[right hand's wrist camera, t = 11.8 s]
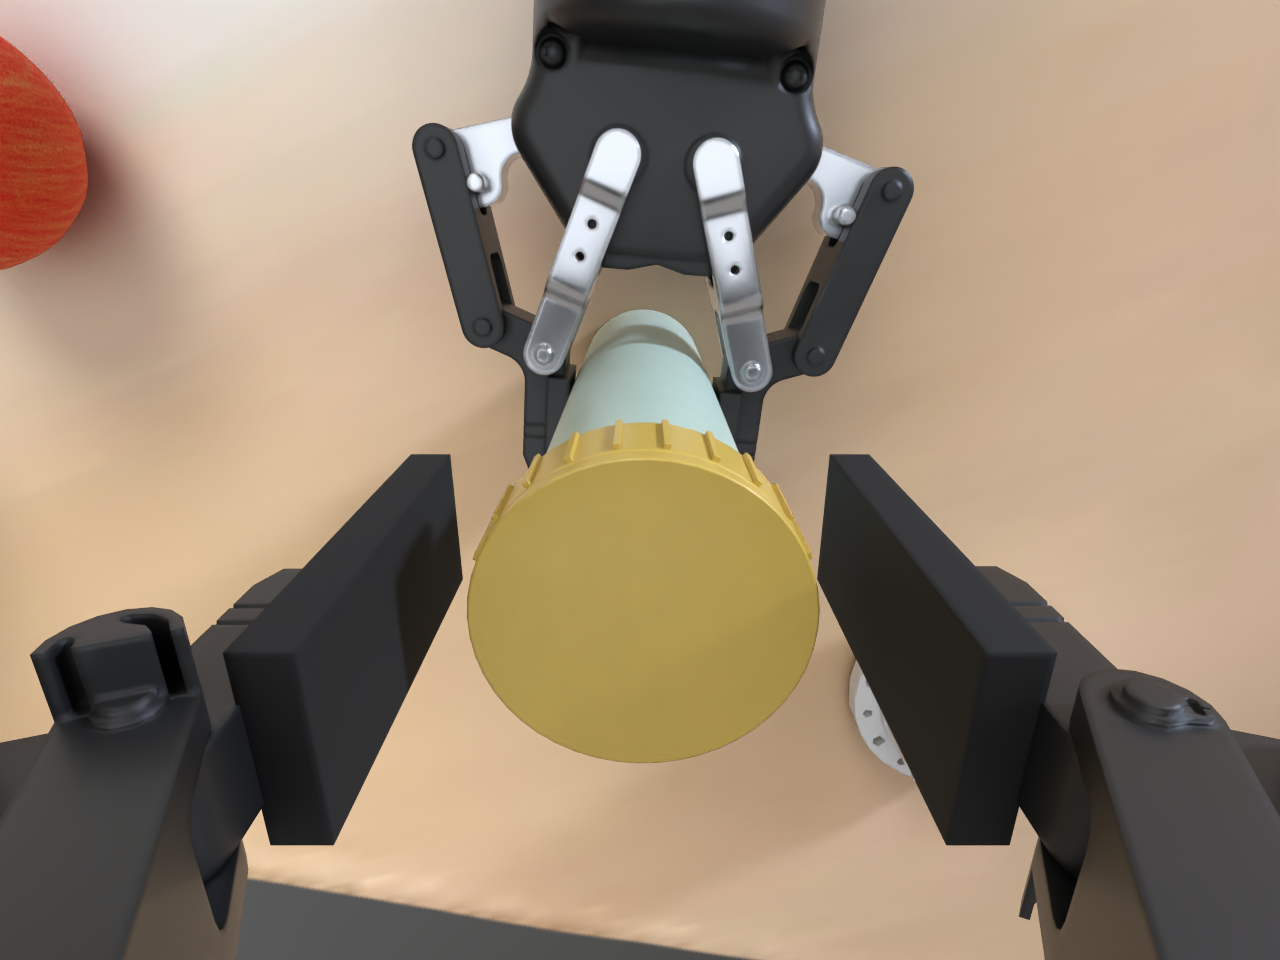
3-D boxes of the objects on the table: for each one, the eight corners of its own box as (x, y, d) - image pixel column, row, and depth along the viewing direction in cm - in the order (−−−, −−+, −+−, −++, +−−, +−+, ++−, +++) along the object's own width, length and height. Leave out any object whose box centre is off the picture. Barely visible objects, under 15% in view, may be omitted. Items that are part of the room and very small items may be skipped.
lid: (583, 737, 13) (574, 812, 12) (425, 506, 12) (388, 556, 10) (846, 624, 13) (877, 688, 11) (715, 357, 11) (729, 383, 9)
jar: (619, 439, 29) (586, 765, 12) (565, 343, 28) (439, 553, 11) (717, 389, 29) (835, 661, 11) (667, 288, 27) (711, 417, 10)
